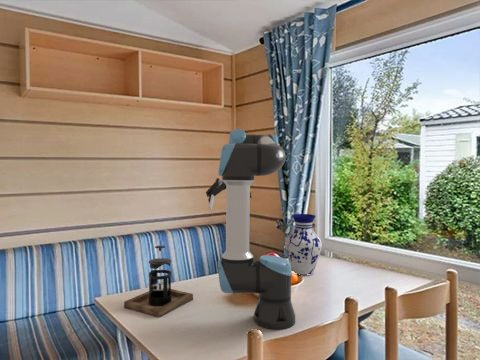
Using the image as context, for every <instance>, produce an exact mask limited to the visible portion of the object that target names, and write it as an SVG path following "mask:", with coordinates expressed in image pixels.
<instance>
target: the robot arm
mask: <svg viewBox="0 0 480 360" xmlns="http://www.w3.org/2000/svg"><path fill="white" fill-rule="evenodd" d="M278 143H279V142H278V136H277V135H276V134H269V133H268V134H253V133H252V134H248V133H247V134H246V132H245V131H244V130H243V129H241V128H235V129H233V130H231V131H230V133H229V137H228V143H225V144H224V145H222V147H221V153H220V156H219V157H220V158H219V166H218V173H217V174H218V176H220V177H222V178H221V179H220V178H218V177H217V178H216V179H215V181H214V183H213V184H212V185H211V186H210V187H209V188H208V189H207V190H206V192H205V194H206V197H208V201H207V202H208V204H209V205H208V209H209V211H212V209H213V206H214V202H215V197H216V196H217V195H218V194H220V193H221V192H223V191H226V192H225V194H226V196H225V198H226V199H225V251H224V252H223V253H222V255H221V259H219V260H218V261H217V272H218V281H219V287H220V290H221V292H222V293H224V294H234V295H235V294H258V300H257V304H256V307H255V309H254V312H253V313H254V314H253V320H254V321H253V322H254V323H255V324H256V325H258V326H259V327H262V328H265V329H269V330H270V329H271V330H284V329H288V328H291V327H293V326H294V325H295V324H296V313H295V310H294V306H293V304H292V297H291V296H292V274H293V273H292V269H291V264H290V262H289V260H288V259H286V258H284V257H281V256H277V255H271V254H270V255H269V254H265V255H261V256H259V258H258V260H255V259H254V255H253V254H252V253H251V251H250V230H251V229H250V225H251V224H250V223H251V222H250V221H251V219H250V215H251V214H250V213H251V211H250V210H251V209H250V208H251V207H250V206H251V202H250V201H251V198H252V192H251V185H252V184H253V183H254V182H255V177H264V176H265V177H266V176H270V175H272V174H274V173H276V172H278V171H279V170H280V169H281V168H282V167H283V166H284V164H285V162H286V153H285V150H284V148H283V147H282V146H281V145H279V144H278Z"/></svg>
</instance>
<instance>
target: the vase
mask: <svg viewBox="0 0 480 360" xmlns="http://www.w3.org/2000/svg"><path fill="white" fill-rule="evenodd" d="M292 218H293V220H294V225H295V226H294V229H293V230H292V231H291V233H289V235H287V237H286V238H285V242H284V246H285V247H284V248H285V253H286V257H287V260H288V261H289V262H290V264H291V272H292V271H294V272H295V273H297V274H300V275H299V276H301V275H307V274H312V273H313V272H314V273H315V270H316V266H317V264H318V260H319V259H320V255H321V252H322V248H323V244H322V240H321V238H320V237H319V236H318V234H317V233H316V232H315V231H314V228H313V222H314V220H315V219H316V215H315V214H310V213H294V214H292ZM314 273H313V274H314ZM313 274H312V275H313Z"/></svg>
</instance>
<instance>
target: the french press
mask: <svg viewBox="0 0 480 360" xmlns="http://www.w3.org/2000/svg"><path fill="white" fill-rule="evenodd" d="M164 248H166V246H165V245H161V244H160V245H155V246H154V249H158V252H159V257H158V258H151V259H150V260H149V261H148V264H149V267H150V269H151V270H150V271H149V272H148V281H149V283H148V287H149V288H148V291H149V301H148V303H149V305H152V306H164V305H166V304H168V303H170V302H172V299H171V289H172V283H171V282H172V271H170V270H169V269H161V267H162V266H163V265H167V266H169V267H170V266H171V263H172V259H171V258H165V257H163V258H162V257H161V256H162V255H161V253H162V249H164ZM158 274H159V275H158ZM161 274H166V275H161ZM158 280H159V282H158ZM162 280H163V282H161V281H162ZM167 290H168V291H167Z"/></svg>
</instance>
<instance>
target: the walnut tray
mask: <svg viewBox="0 0 480 360" xmlns="http://www.w3.org/2000/svg"><path fill="white" fill-rule="evenodd" d="M167 291H168V290H167ZM171 299H172V302H170V303H168V304H166V305H164V306H152V305H149V303H148V301H149V290H148V291H146V292H143V293H141V294H139V295H137V296H135V297H132V298H129V299H127V300H125V301H123V308H124V309H127V310H130V311H134V312H138V313H140V314H141V313H142V314H145V315H148V316H153V317H156V318H161V317H163V316H165V315H167V314H169V313H170V312H173V311H174V310H177V309H179V308H180V307H181V306H184V305H186V304H188V303H190V302H192V301H193V300H194V293H190V292H186V291H182V290H178V289H172V288H171Z"/></svg>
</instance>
